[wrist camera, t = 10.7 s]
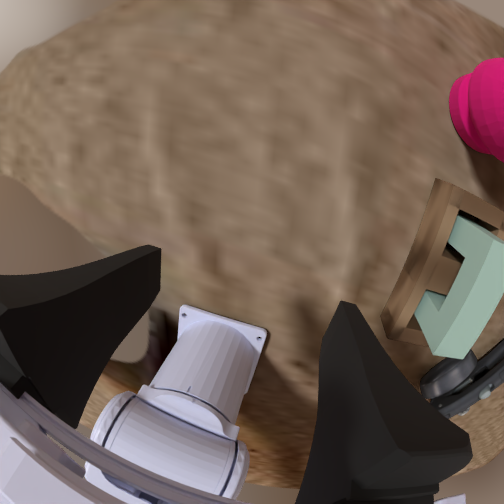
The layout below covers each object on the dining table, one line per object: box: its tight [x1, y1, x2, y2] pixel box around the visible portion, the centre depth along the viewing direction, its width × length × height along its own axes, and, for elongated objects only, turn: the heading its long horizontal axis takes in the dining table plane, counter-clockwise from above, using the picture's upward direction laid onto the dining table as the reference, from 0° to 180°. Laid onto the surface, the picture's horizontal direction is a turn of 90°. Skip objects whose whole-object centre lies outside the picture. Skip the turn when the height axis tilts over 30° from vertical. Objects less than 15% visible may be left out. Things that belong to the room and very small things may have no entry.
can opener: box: [420, 340, 504, 419], centre depth 18 cm, size 18×7×6 cm, turn 124°
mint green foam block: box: [414, 214, 504, 359], centre depth 15 cm, size 8×3×7 cm, turn 168°
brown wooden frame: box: [380, 178, 504, 347], centre depth 17 cm, size 12×6×3 cm, turn 168°
